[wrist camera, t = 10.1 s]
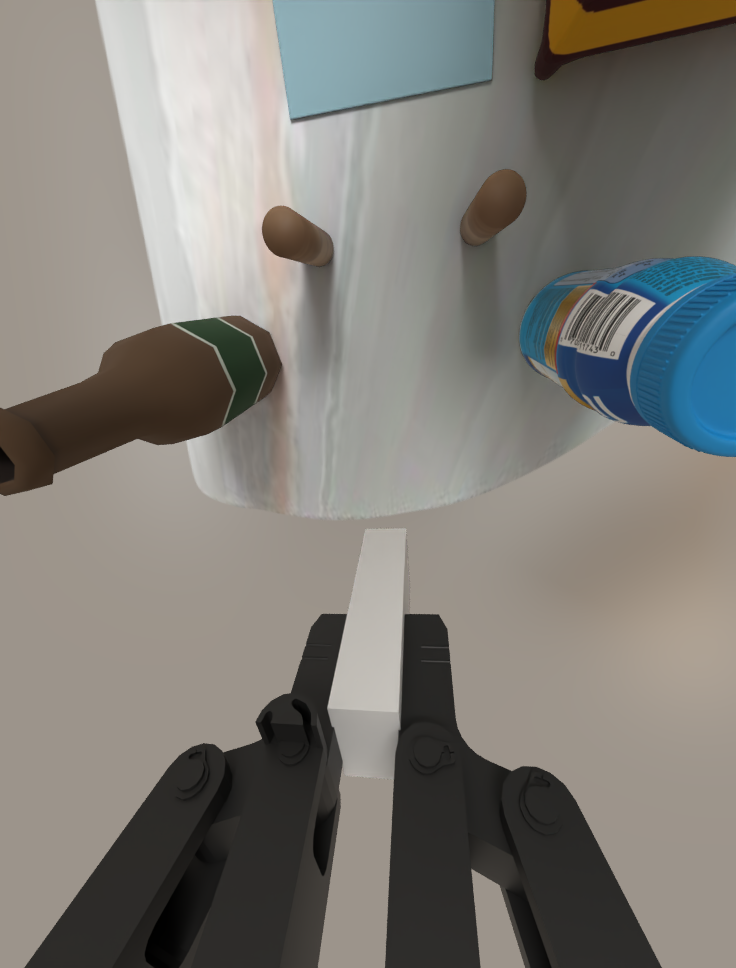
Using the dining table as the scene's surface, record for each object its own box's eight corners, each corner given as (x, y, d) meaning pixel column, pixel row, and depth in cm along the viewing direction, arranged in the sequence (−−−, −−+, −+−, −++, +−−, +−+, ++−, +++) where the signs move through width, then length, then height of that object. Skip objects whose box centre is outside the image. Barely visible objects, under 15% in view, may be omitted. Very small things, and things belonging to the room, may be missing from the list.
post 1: (299, 231, 30) (257, 209, 22) (331, 226, 29) (299, 202, 21) (305, 268, 31) (267, 260, 23) (335, 264, 30) (307, 254, 22)
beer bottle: (210, 394, 37) (-64, 529, 16) (200, 309, 33) (-171, 339, 12) (284, 403, 37) (106, 555, 15) (283, 319, 33) (46, 367, 12)
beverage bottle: (609, 245, 28) (944, 163, 10) (635, 347, 31) (930, 422, 13) (500, 306, 30) (616, 326, 13) (534, 395, 33) (667, 510, 16)
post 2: (460, 207, 28) (478, 173, 20) (495, 202, 27) (528, 165, 19) (459, 247, 29) (476, 231, 21) (493, 243, 28) (524, 224, 21)
